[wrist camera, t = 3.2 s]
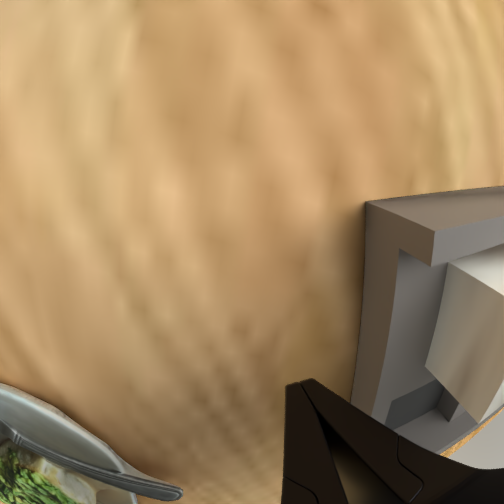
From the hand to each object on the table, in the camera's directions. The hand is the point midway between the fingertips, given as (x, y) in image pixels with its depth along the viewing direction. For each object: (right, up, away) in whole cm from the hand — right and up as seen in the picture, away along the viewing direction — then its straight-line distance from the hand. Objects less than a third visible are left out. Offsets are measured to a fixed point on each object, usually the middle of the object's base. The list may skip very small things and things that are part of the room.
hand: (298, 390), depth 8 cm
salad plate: (-17, -8, +3) cm, 19 cm away
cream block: (+9, +2, +2) cm, 9 cm away
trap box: (+13, 0, +6) cm, 14 cm away
